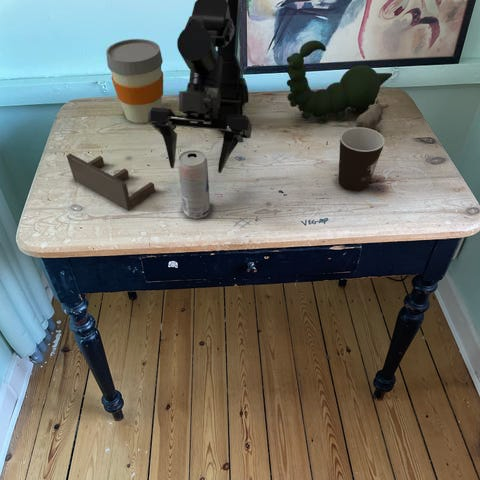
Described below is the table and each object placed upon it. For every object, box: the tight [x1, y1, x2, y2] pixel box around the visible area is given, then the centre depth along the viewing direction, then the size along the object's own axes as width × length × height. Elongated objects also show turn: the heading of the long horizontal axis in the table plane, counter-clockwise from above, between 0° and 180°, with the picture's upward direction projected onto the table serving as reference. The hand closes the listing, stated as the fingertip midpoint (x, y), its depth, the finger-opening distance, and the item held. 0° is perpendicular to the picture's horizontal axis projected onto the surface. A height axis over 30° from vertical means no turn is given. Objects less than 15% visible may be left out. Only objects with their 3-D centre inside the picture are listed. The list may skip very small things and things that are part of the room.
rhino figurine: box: [355, 99, 389, 131], centre depth 114 cm, size 4×14×6 cm, turn 145°
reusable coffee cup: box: [105, 38, 164, 124], centre depth 116 cm, size 12×12×15 cm
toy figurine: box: [286, 40, 393, 123], centre depth 114 cm, size 9×19×25 cm
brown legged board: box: [66, 153, 156, 211], centre depth 101 cm, size 8×17×6 cm, turn 52°
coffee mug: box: [337, 127, 386, 193], centre depth 100 cm, size 12×9×10 cm
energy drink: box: [177, 149, 211, 220], centre depth 93 cm, size 5×5×12 cm
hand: (195, 170), depth 93 cm, fingers open, 9 cm apart
